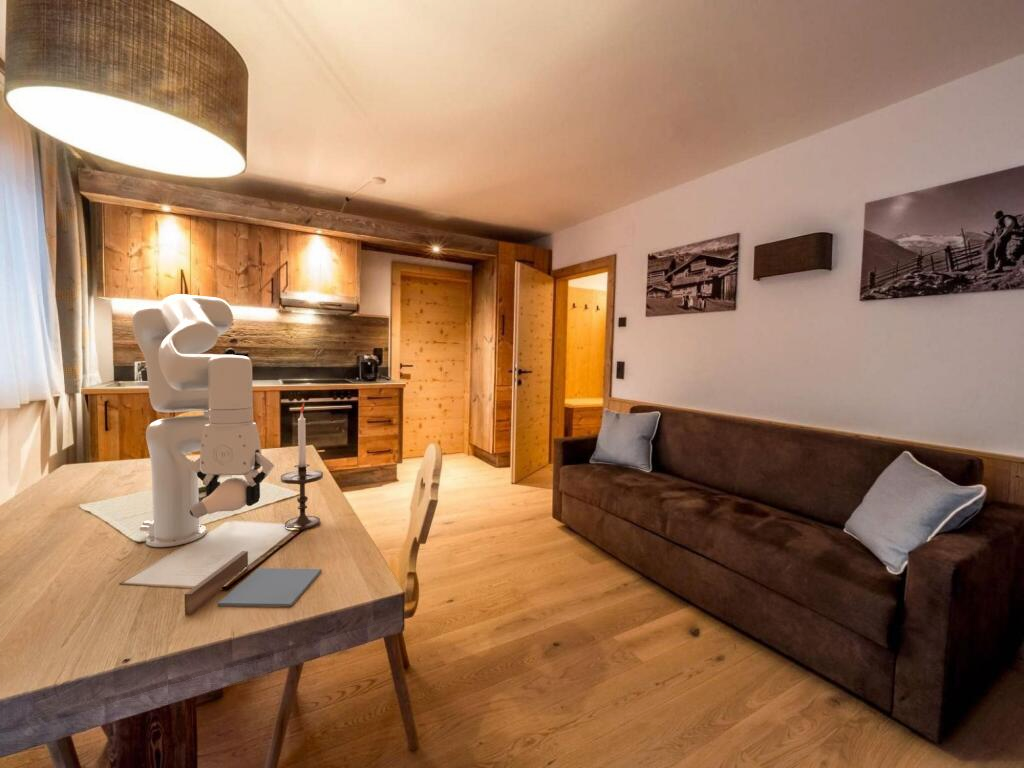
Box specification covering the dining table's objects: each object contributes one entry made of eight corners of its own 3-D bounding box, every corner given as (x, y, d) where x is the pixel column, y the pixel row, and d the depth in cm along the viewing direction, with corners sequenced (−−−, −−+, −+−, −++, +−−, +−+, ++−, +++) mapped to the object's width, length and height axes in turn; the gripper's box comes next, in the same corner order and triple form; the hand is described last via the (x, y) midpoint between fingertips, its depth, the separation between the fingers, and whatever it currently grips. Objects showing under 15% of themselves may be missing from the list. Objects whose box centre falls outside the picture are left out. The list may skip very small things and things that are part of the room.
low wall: (184, 614, 82) (184, 594, 82) (242, 568, 100) (242, 551, 100) (191, 615, 82) (190, 594, 82) (248, 568, 100) (247, 551, 100)
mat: (217, 606, 85) (217, 603, 85) (258, 570, 99) (258, 568, 99) (290, 606, 85) (290, 603, 85) (321, 571, 99) (321, 568, 99)
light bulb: (186, 498, 81) (249, 471, 89) (179, 497, 86) (240, 472, 94) (200, 530, 82) (262, 501, 90) (193, 527, 87) (252, 500, 94)
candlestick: (312, 515, 133) (311, 399, 131) (330, 524, 127) (329, 402, 124) (274, 525, 125) (272, 402, 123) (291, 535, 118) (290, 405, 116)
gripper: (174, 418, 85) (177, 509, 86) (263, 420, 85) (265, 510, 86) (201, 414, 93) (204, 497, 94) (284, 415, 92) (285, 498, 93)
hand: (233, 502), depth 90 cm, fingers closed on light bulb, 7 cm apart
